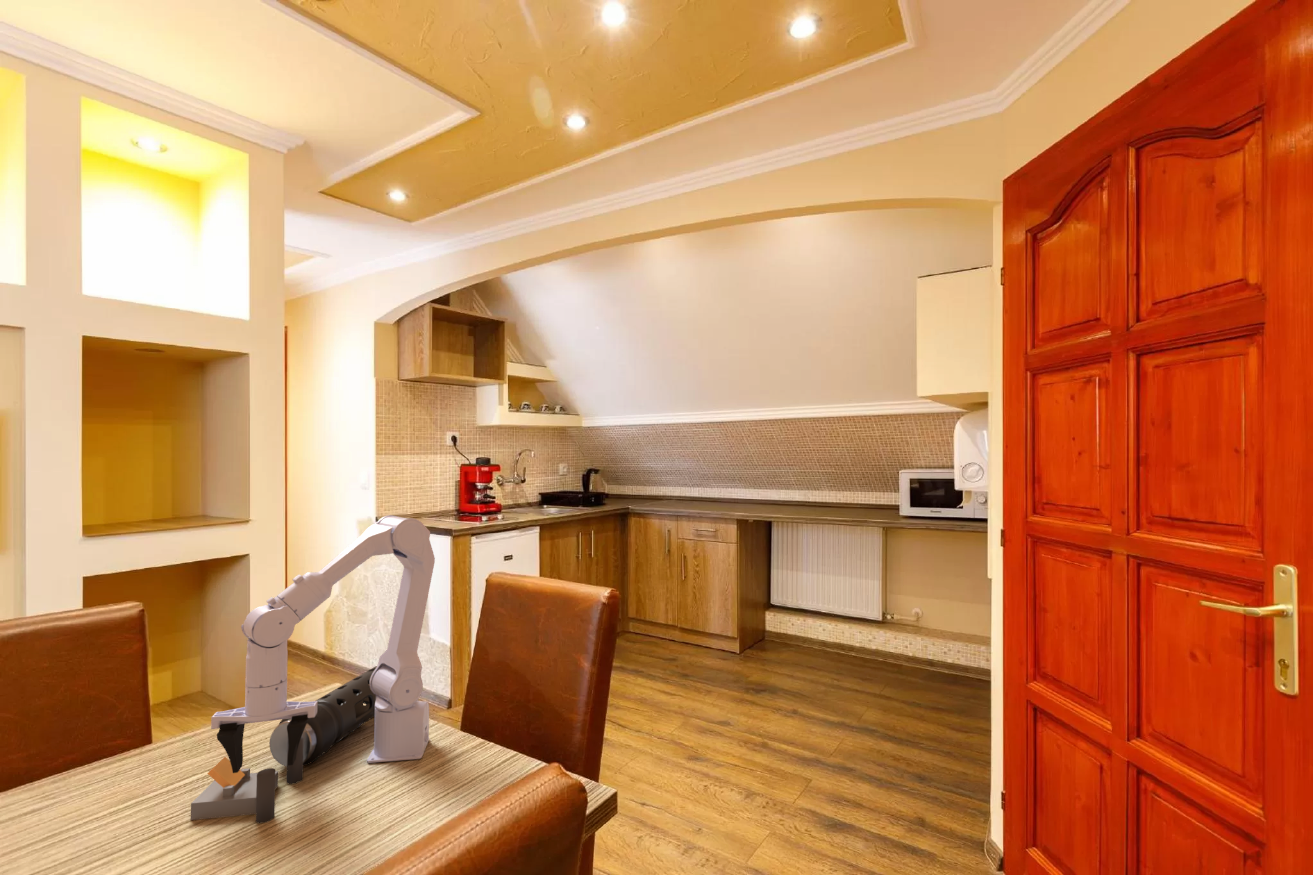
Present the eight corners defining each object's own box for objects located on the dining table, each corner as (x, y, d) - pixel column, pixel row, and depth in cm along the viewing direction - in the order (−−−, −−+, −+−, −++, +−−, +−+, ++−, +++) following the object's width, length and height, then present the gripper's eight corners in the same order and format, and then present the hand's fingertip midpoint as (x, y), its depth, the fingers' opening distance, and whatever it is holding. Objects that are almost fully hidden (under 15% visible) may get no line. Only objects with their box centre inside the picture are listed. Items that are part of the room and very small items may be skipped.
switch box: (277, 785, 101) (278, 763, 101) (255, 813, 93) (256, 789, 94) (218, 791, 100) (219, 767, 100) (190, 819, 92) (191, 794, 92)
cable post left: (277, 812, 94) (278, 767, 94) (270, 822, 91) (271, 775, 92) (260, 814, 93) (261, 768, 94) (252, 823, 91) (253, 777, 91)
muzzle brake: (362, 709, 134) (405, 704, 133) (264, 775, 106) (317, 769, 105) (356, 667, 135) (399, 661, 133) (258, 720, 107) (310, 714, 106)
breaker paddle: (245, 774, 99) (225, 756, 98) (233, 787, 95) (212, 768, 94) (240, 779, 98) (220, 761, 98) (228, 792, 95) (207, 773, 94)
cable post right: (304, 775, 105) (305, 735, 105) (299, 783, 102) (300, 741, 102) (289, 777, 104) (290, 736, 104) (283, 784, 102) (284, 742, 102)
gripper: (322, 668, 104) (320, 747, 104) (223, 677, 99) (222, 760, 99) (312, 683, 97) (310, 768, 97) (206, 693, 93) (204, 783, 92)
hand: (264, 765), depth 98 cm, fingers open, 7 cm apart
